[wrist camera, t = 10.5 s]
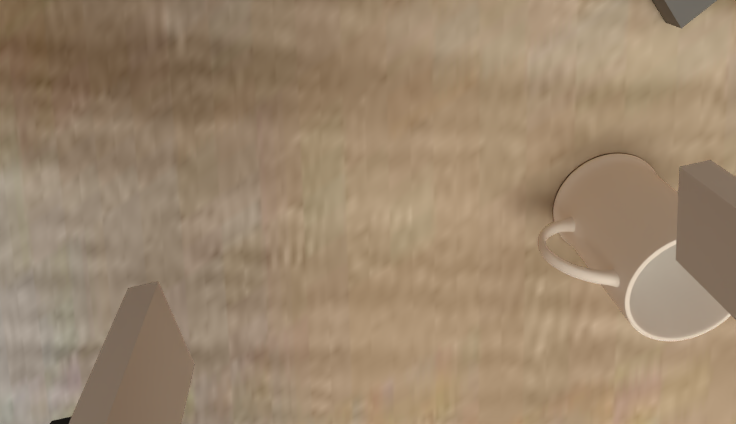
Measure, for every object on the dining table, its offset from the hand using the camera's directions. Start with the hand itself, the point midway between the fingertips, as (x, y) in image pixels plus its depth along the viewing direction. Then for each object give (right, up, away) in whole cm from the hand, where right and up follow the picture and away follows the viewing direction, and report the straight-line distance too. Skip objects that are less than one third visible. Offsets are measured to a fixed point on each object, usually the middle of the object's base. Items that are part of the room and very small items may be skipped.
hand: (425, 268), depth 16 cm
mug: (+16, +2, +33) cm, 37 cm away
